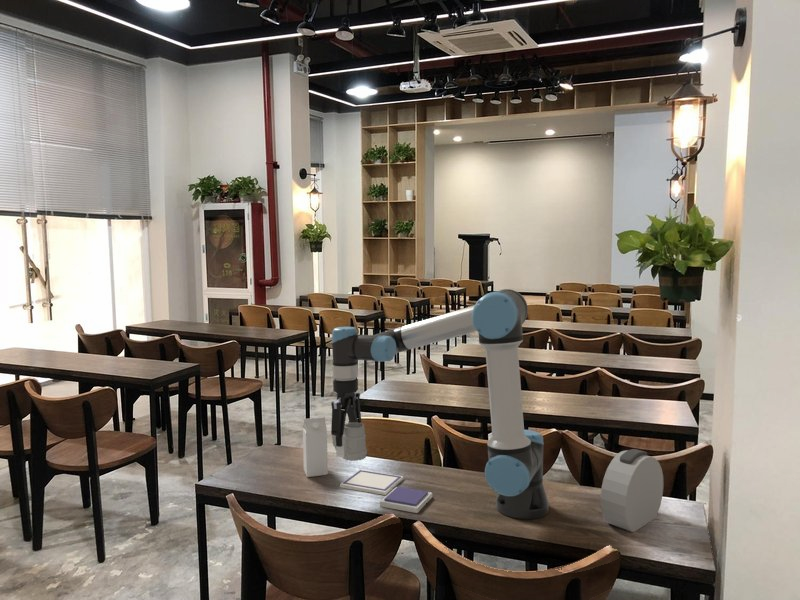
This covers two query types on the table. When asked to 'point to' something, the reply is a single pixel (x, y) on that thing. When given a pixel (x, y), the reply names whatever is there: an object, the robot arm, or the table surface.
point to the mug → (353, 441)
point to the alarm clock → (631, 490)
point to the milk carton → (315, 447)
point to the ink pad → (406, 499)
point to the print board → (372, 482)
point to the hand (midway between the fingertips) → (347, 452)
